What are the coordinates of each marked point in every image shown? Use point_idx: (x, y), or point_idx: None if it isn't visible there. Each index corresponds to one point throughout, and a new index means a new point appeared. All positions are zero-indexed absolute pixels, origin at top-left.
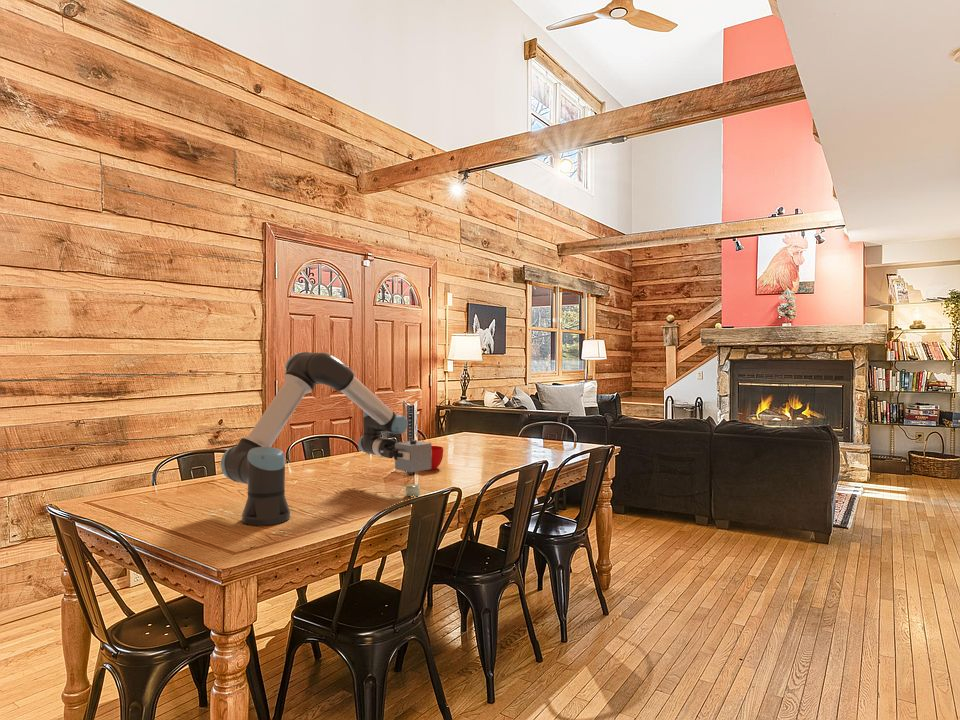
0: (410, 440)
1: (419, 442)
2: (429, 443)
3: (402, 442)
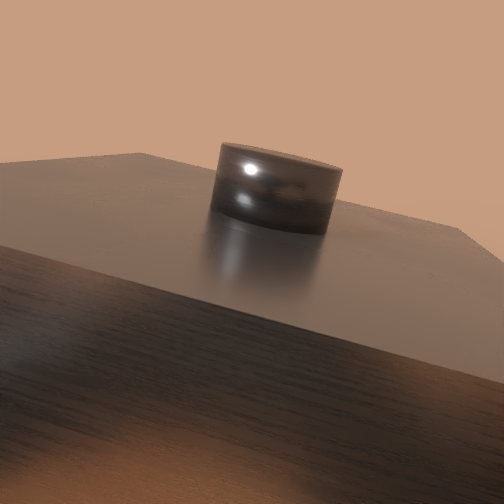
0: (339, 174)
1: (143, 181)
2: (164, 158)
3: (396, 322)
